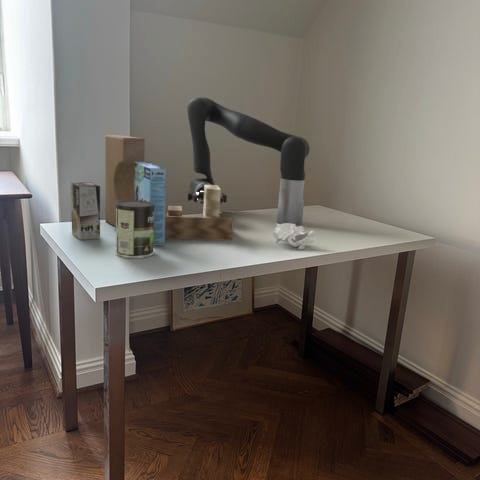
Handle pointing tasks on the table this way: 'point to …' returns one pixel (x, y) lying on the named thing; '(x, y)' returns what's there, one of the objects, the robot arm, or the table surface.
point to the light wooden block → (211, 201)
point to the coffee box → (85, 210)
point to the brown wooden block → (198, 228)
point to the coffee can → (134, 228)
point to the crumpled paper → (292, 235)
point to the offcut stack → (174, 211)
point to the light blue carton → (152, 194)
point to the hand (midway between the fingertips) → (208, 200)
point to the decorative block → (121, 170)
